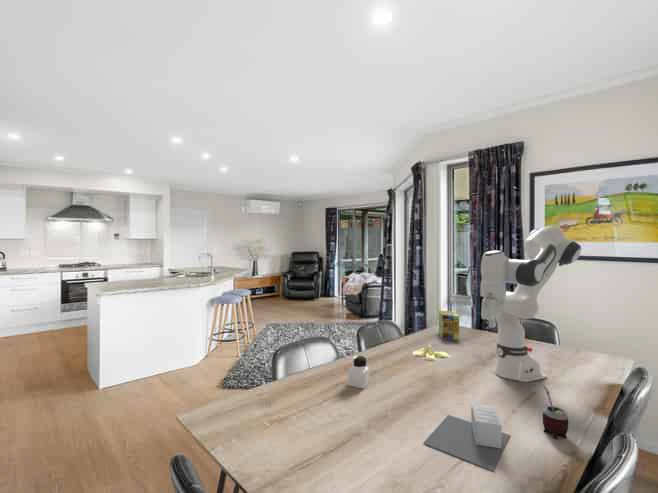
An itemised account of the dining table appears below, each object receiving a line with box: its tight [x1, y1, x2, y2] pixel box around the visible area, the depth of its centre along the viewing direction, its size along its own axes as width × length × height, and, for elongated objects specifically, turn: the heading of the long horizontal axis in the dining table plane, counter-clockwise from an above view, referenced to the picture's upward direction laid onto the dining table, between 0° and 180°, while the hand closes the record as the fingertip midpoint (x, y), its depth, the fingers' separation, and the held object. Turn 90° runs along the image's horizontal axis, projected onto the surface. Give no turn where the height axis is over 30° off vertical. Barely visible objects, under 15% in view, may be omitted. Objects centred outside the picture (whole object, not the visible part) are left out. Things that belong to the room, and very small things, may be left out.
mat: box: [422, 414, 511, 473], centre depth 107 cm, size 22×20×1 cm
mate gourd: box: [539, 381, 569, 440], centre depth 111 cm, size 8×8×15 cm
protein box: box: [438, 310, 460, 341], centre depth 224 cm, size 10×15×16 cm
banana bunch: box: [411, 344, 451, 362], centre depth 188 cm, size 22×19×6 cm
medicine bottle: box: [348, 355, 370, 389], centre depth 147 cm, size 7×7×12 cm
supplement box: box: [470, 403, 503, 448], centre depth 108 cm, size 7×7×13 cm
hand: (492, 327), depth 133 cm, fingers closed
